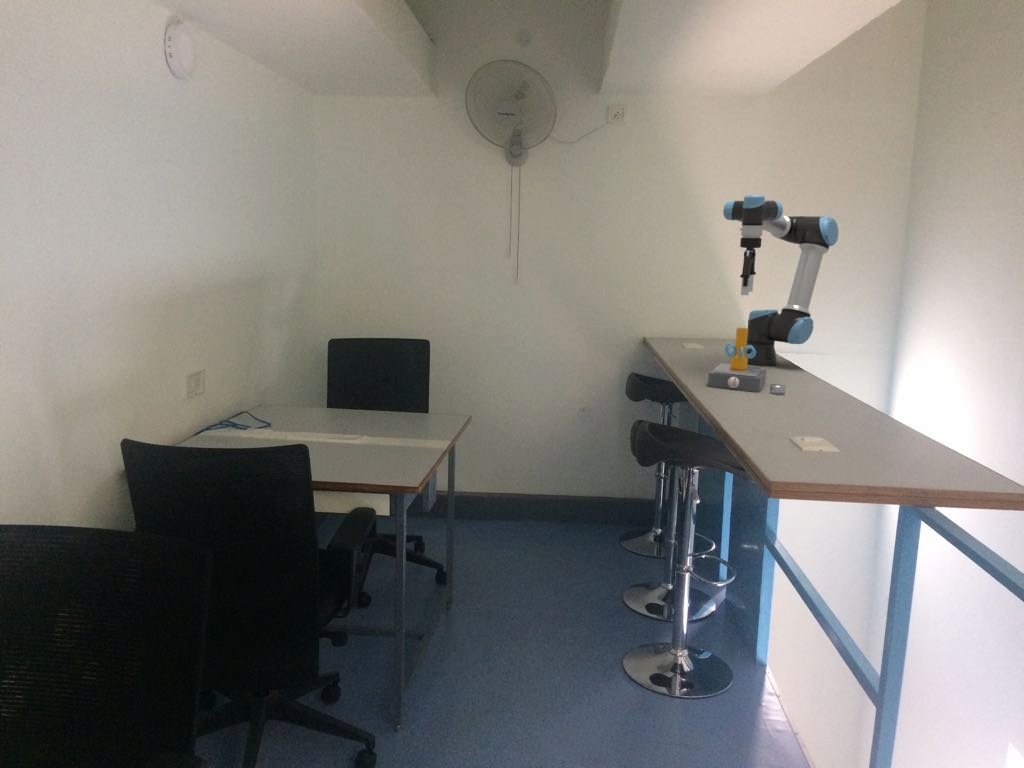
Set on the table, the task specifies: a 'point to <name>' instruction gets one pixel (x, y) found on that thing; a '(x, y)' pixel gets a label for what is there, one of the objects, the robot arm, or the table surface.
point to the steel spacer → (777, 389)
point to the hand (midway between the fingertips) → (746, 293)
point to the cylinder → (740, 350)
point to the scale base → (737, 381)
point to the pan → (747, 372)
